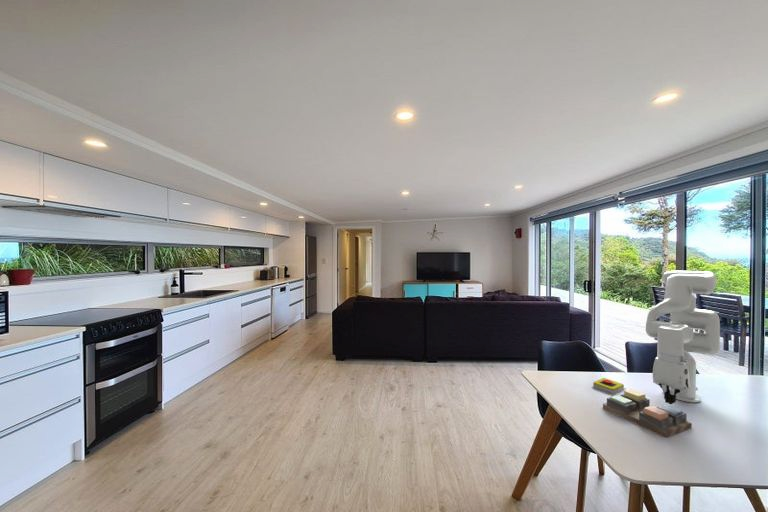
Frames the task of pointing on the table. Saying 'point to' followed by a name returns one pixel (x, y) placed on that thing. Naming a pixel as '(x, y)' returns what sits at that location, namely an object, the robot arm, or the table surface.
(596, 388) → the emergency button
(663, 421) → the console
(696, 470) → the table surface
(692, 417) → the table surface
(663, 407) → the slate button
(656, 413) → the terracotta button
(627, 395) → the mustard button
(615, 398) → the sage button
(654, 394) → the table surface
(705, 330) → the robot arm
